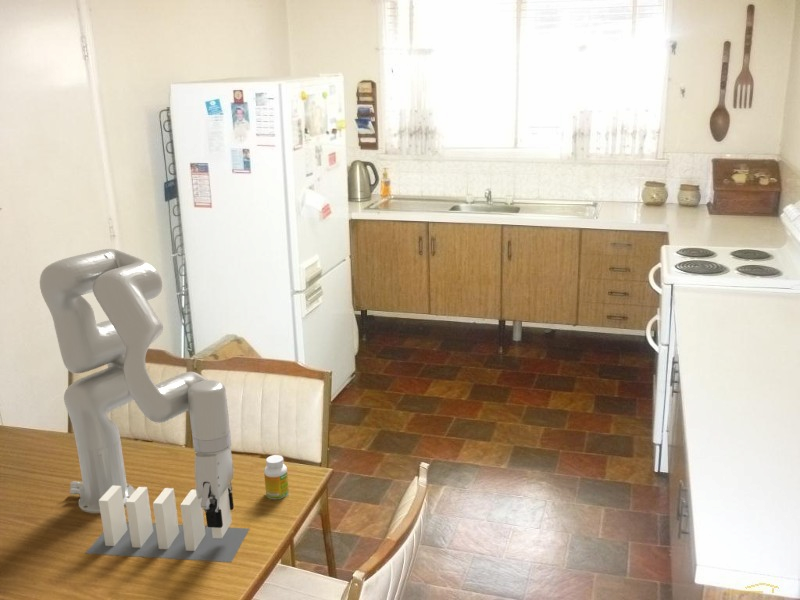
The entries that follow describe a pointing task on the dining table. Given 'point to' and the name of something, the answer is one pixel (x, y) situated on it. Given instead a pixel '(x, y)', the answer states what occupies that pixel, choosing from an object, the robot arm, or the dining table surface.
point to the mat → (176, 546)
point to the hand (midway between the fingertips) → (220, 517)
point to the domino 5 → (226, 514)
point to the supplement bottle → (276, 477)
